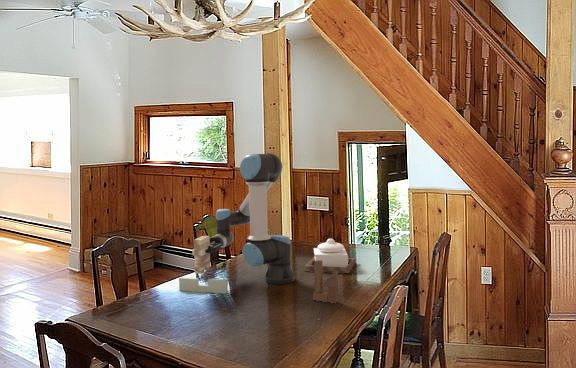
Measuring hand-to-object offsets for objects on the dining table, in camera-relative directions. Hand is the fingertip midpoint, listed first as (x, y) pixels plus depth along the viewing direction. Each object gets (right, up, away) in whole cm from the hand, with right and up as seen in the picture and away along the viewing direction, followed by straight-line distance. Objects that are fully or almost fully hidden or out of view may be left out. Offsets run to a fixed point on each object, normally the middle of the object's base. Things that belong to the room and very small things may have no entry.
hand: (197, 252), depth 272 cm
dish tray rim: (+66, -14, +51) cm, 85 cm away
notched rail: (+2, -19, +7) cm, 21 cm away
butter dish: (+66, -14, +51) cm, 85 cm away
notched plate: (+2, -9, +6) cm, 11 cm away
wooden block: (+59, -20, -12) cm, 63 cm away
